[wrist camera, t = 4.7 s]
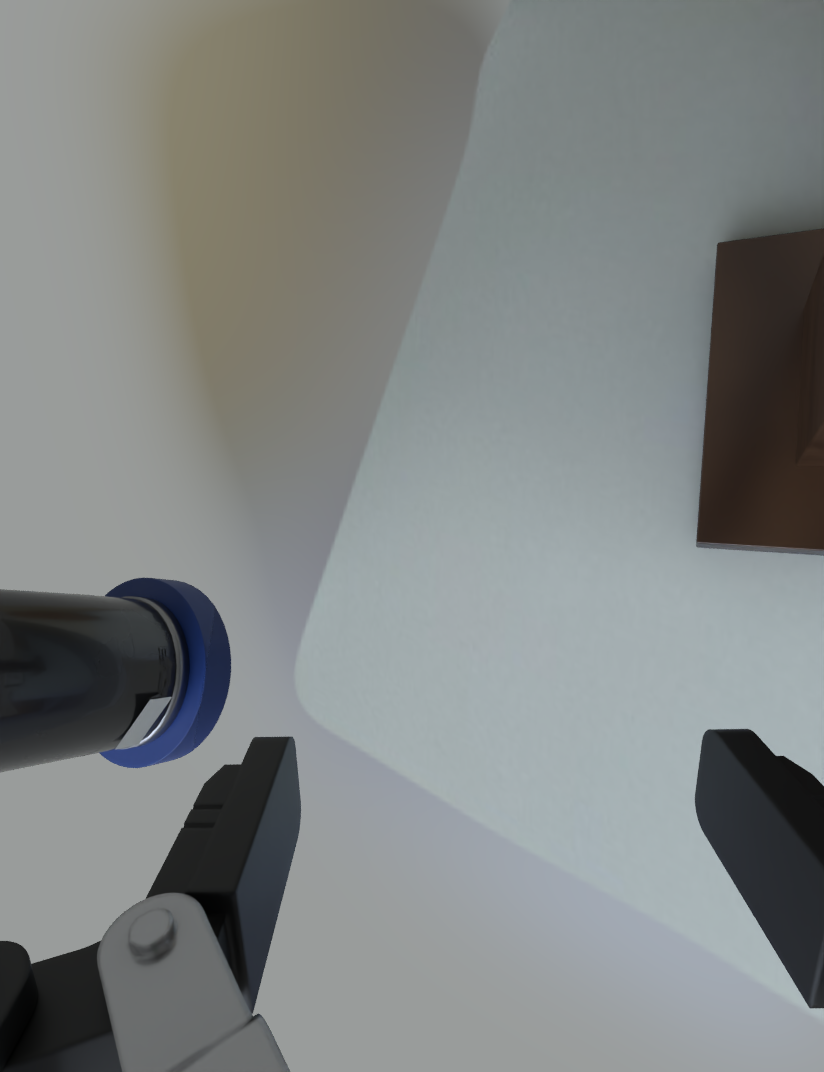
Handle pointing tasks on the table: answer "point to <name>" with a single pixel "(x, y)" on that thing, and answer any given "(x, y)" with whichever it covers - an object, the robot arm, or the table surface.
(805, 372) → the stand
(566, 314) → the table surface
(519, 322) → the table surface
